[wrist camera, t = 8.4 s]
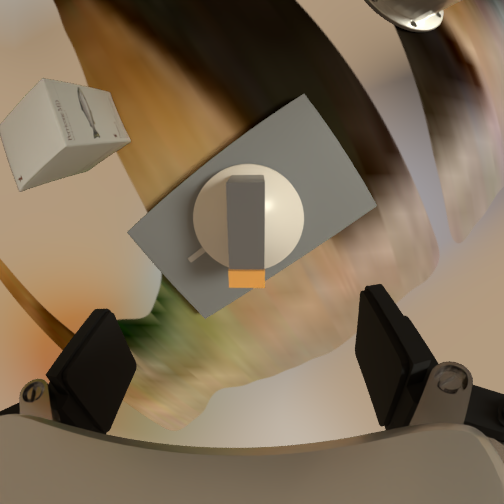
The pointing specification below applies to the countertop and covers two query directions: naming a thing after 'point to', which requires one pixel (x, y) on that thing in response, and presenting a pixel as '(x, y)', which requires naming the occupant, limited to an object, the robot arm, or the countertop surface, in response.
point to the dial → (248, 221)
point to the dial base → (279, 159)
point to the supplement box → (60, 132)
